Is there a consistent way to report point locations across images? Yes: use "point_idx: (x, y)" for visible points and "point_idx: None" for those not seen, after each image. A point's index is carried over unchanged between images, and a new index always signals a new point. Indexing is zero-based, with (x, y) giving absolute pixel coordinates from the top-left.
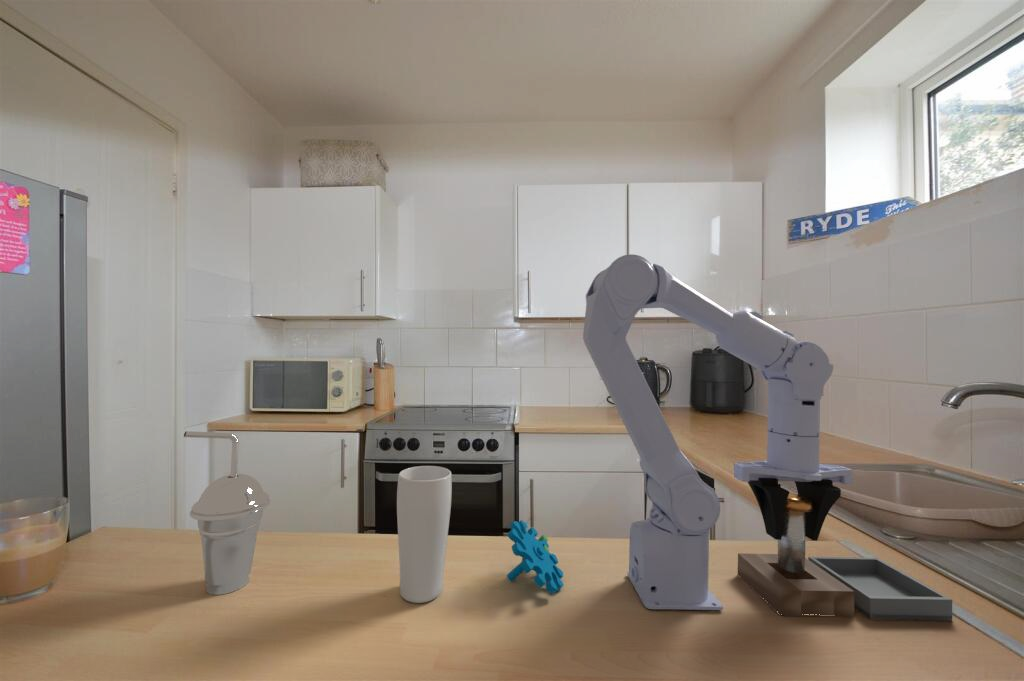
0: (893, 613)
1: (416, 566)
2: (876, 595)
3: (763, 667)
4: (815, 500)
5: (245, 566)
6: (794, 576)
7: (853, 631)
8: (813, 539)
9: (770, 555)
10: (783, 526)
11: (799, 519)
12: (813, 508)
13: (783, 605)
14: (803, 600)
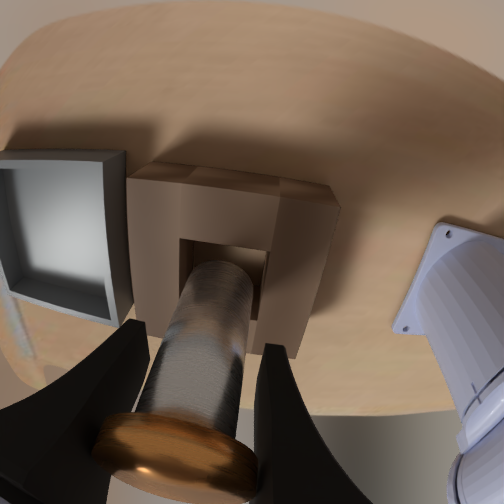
0: (74, 152)
1: None
2: (60, 214)
3: (479, 77)
4: (78, 447)
5: None
6: None
7: (199, 114)
8: (141, 323)
9: None
10: (239, 384)
11: (187, 392)
12: (96, 418)
13: (325, 191)
14: (272, 187)
